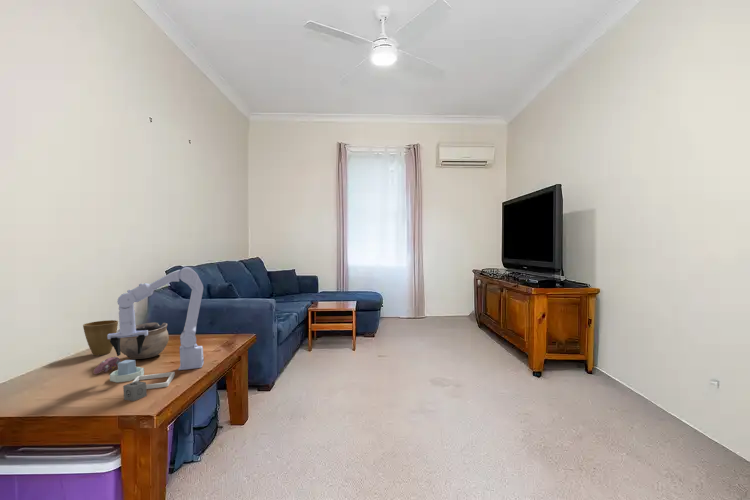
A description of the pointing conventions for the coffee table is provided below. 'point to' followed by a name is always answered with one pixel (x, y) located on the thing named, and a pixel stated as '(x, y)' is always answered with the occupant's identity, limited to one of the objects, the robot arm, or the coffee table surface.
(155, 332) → the ceramic bowl
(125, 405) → the coffee table surface
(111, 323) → the plant pot
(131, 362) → the slate block
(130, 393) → the dice cube
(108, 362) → the video game controller
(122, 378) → the ceramic dish
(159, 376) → the white flat frame piece
